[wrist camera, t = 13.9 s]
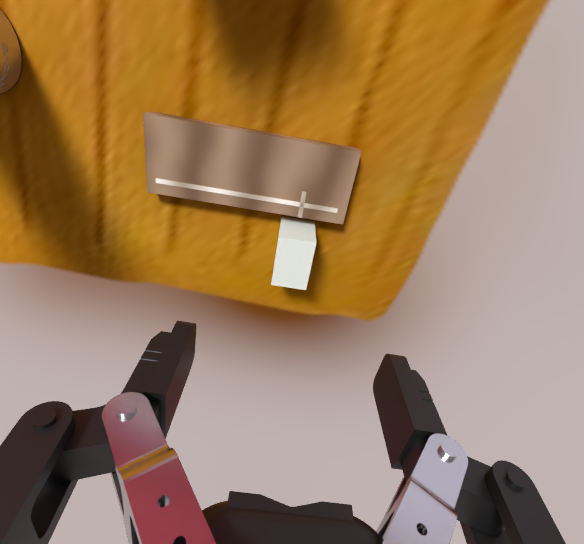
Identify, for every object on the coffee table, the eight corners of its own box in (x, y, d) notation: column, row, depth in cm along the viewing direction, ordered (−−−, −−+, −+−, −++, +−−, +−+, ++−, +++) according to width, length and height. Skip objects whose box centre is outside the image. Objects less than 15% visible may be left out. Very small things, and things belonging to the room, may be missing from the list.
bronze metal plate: (154, 187, 39) (147, 192, 37) (151, 111, 35) (142, 113, 33) (341, 218, 40) (343, 224, 39) (358, 148, 36) (361, 152, 35)
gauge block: (274, 260, 44) (270, 285, 38) (281, 216, 41) (278, 236, 35) (305, 265, 44) (305, 291, 39) (314, 221, 41) (316, 242, 36)
